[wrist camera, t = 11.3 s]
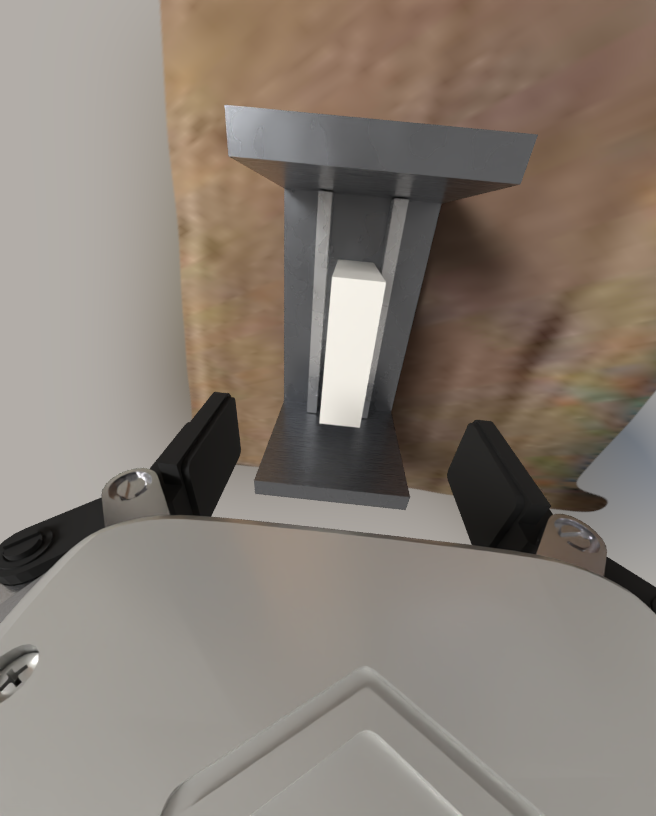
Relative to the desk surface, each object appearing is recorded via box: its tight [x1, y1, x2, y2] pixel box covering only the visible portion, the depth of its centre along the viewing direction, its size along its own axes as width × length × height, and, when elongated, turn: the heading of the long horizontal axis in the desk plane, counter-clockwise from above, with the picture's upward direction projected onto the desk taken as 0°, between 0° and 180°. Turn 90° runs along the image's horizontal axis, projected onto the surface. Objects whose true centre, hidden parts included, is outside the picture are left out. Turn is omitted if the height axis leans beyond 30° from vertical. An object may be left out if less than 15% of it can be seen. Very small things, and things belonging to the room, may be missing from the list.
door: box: [319, 259, 386, 428], centre depth 23 cm, size 10×3×10 cm, turn 175°
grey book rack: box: [225, 105, 538, 510], centre depth 22 cm, size 22×12×13 cm, turn 175°
